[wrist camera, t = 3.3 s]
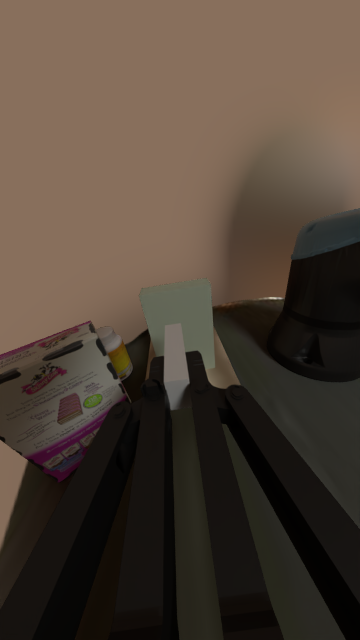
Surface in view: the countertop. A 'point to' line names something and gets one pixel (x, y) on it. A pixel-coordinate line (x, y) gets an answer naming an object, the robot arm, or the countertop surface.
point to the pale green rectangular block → (181, 316)
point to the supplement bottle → (116, 351)
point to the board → (216, 376)
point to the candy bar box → (57, 398)
